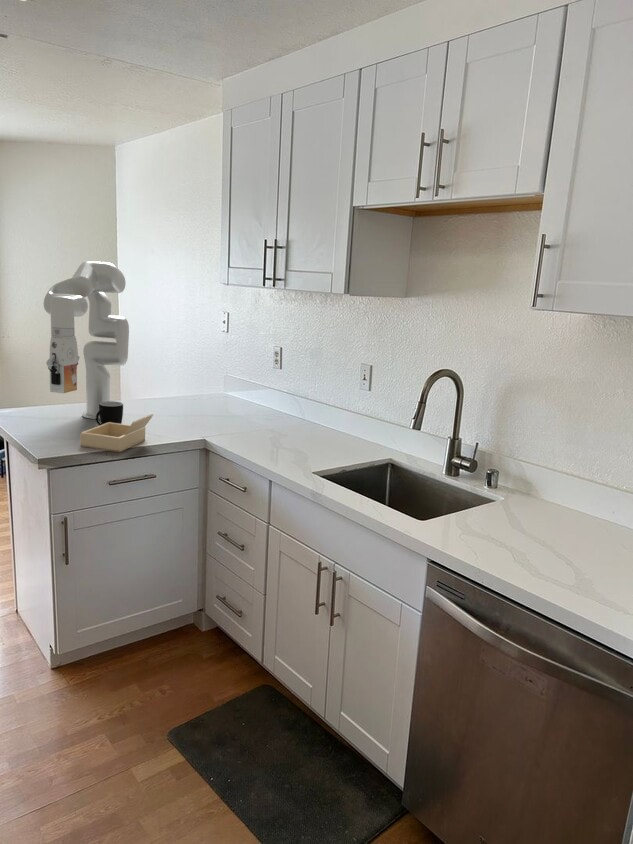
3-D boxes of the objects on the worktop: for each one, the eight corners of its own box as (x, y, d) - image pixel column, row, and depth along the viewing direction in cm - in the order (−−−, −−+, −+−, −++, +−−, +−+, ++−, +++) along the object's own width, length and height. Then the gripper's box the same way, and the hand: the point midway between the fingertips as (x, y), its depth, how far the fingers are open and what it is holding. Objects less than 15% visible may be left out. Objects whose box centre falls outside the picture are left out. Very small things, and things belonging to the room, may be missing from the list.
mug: (111, 424, 250) (111, 400, 248) (128, 428, 247) (128, 403, 244) (88, 430, 240) (87, 404, 238) (105, 434, 236) (104, 408, 234)
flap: (152, 413, 227) (153, 414, 227) (143, 426, 229) (144, 427, 229) (133, 421, 214) (134, 422, 214) (123, 434, 216) (124, 435, 216)
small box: (64, 394, 214) (63, 363, 211) (49, 392, 215) (48, 362, 212) (77, 390, 222) (77, 360, 219) (63, 388, 223) (62, 359, 220)
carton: (108, 434, 236) (108, 422, 235) (145, 440, 233) (145, 427, 231) (80, 446, 219) (80, 432, 217) (119, 452, 215) (119, 438, 214)
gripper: (56, 335, 204) (57, 387, 209) (87, 331, 221) (88, 379, 225) (36, 333, 206) (38, 385, 210) (68, 329, 222) (69, 377, 227)
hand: (63, 382), depth 218 cm, fingers closed on small box, 8 cm apart
